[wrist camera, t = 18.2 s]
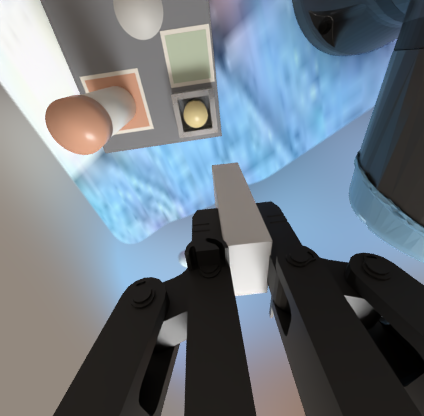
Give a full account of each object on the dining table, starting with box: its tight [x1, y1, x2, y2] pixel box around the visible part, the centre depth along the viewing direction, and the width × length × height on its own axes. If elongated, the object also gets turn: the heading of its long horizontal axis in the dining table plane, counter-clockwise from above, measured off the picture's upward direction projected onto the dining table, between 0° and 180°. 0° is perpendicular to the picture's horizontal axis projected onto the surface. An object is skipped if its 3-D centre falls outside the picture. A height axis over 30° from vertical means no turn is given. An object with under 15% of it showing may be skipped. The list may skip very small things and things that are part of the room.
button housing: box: [171, 87, 218, 138], centre depth 25 cm, size 5×5×2 cm
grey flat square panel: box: [40, 0, 222, 153], centre depth 24 cm, size 16×17×1 cm
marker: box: [45, 86, 136, 155], centre depth 21 cm, size 4×4×11 cm
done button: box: [184, 100, 208, 128], centre depth 25 cm, size 3×3×2 cm
